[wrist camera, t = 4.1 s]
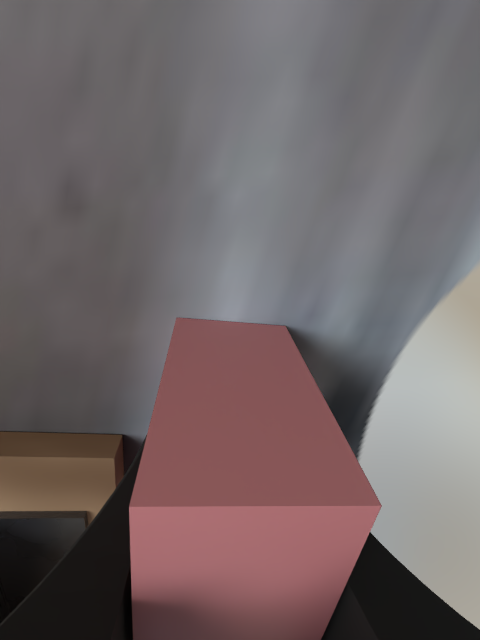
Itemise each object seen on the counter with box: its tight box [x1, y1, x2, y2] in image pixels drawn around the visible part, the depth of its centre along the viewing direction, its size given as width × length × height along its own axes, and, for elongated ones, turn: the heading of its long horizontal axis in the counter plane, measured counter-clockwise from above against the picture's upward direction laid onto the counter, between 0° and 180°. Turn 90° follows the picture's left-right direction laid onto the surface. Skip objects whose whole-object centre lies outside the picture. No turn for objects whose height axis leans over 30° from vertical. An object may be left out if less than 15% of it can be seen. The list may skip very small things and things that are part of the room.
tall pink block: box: [129, 318, 382, 640], centre depth 10 cm, size 9×4×7 cm, turn 173°
